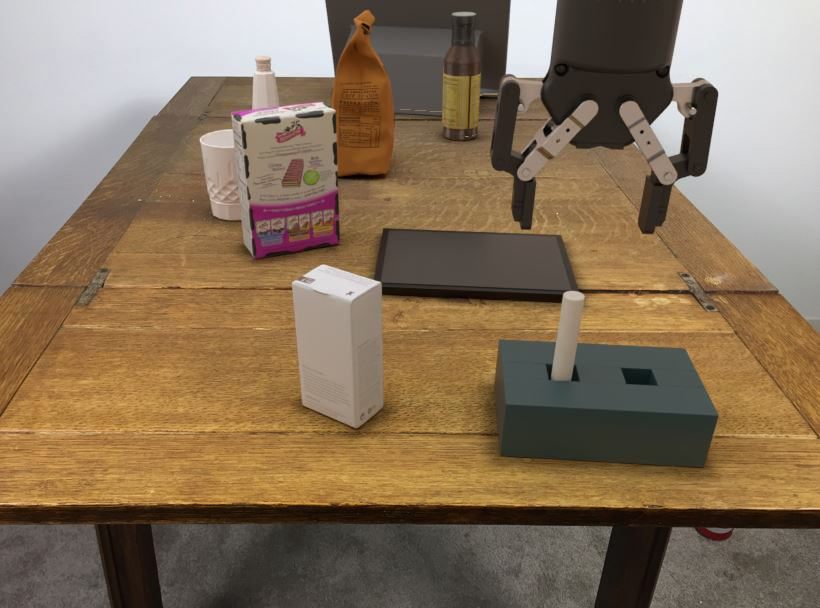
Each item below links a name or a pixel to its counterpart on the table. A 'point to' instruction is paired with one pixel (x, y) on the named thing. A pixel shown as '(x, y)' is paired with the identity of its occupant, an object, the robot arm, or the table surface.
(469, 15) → the sauce bottle
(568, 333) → the stylus
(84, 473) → the table surface
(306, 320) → the cosmetic box
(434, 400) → the table surface
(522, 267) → the tablet
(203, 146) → the white cup
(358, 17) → the coffee package
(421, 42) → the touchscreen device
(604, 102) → the robot arm
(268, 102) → the salt shaker
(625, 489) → the table surface
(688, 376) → the pen stand
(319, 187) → the candy bar box
